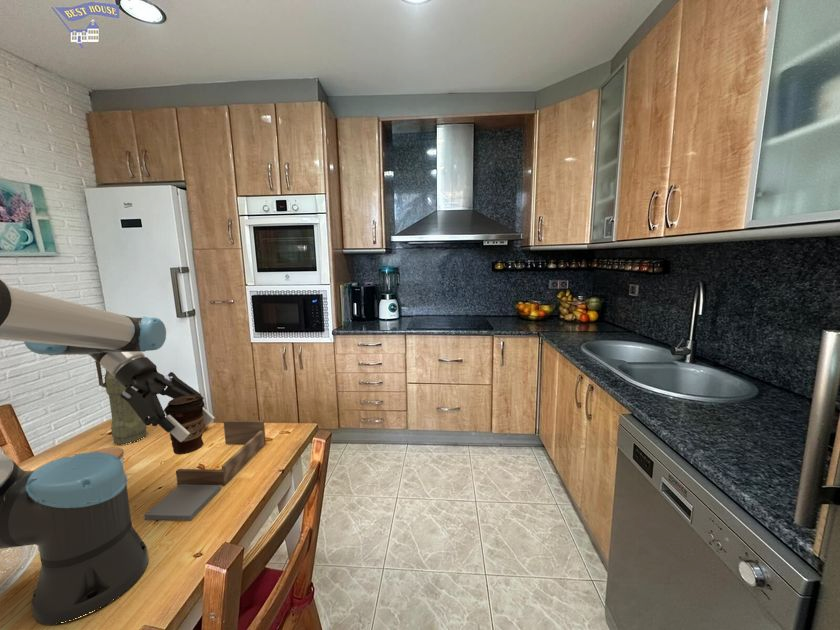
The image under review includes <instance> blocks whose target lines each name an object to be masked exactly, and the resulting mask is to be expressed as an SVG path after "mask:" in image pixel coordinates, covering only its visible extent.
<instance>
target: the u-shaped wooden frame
mask: <svg viewBox="0 0 840 630" xmlns="http://www.w3.org/2000/svg"><path fill="white" fill-rule="evenodd" d="M223 429H224V430H223V432H224V441H225V445H226V444H232V445H233V444H234V445H237V446H240V445H241V446H242V447H240V448H239V449H238V450H237V452H236V453H234V454H233V455H231V457H230V458H228V459H227V461H226V462H224V464H221V469H215V468H213V469H212V468H207V469H205V468H204V469H203V468H201V469H198V468H177V469H176V470H175V475H176V484H177V486H179V485H221V487H223V486H224V487H225V486H226V485H227V484H228V483H229V482H230V481H231V480H232V479H233V478H234V477H235V476H236V474H237V473H239V472H240V471H241V469H243V468H244V466H246V464H247V463H248V462H249V461H250V460H251V459H252V458H253V457H254V456H255V455H256V454H257V453H258V452H259V451H260V450H261V449H262V448H263V447H264V446H265V444H266V431H265V421H264V420H243V419H242V420H237V419H236V420H233V419H230V420H227V419H226V420H223ZM232 445H231V446H232Z"/></svg>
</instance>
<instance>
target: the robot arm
mask: <svg viewBox="0 0 840 630" xmlns="http://www.w3.org/2000/svg"><path fill="white" fill-rule="evenodd" d="M0 340H4V341H12V342H13V341H14V342H23V343H24V345H25V346H26V348H27V349H28V350H30V352H32V353H34V354H38V355H48V356H59V355H61V356H63V355H64V356H65V355H66V356H69V355H74V356H75V355H79V356H80V355H81V356H82V355H88V356H90V357H91V358H92V359H93V360H95V361H97V362H98V363H99V364H100V365H101V368H103V369H105V371H106V370H107V371H108V372H109V373H110V374H111V375H112V376H115V379H116V380H117V381H118V382H120V383H121V384H122V385H123V386H124V387H126V389H125V390H124V391H123V392H122V394H121V395H120V397H122V398H123V399H125V400H126V401H127V402H128V403H129V404H130V405H131V407H132V408H133V409H134V410H135V412H136V413H137V414H138V416H139V417H140V418H141V420H142V421H143V422H144V424H145V425H146V426H153V427H157V426H160V427H161V428H162V429H163V430H164V431H165V432H166V433H169V432H170V433H171V434H172V435H173V436H174V437H175V438H176V439H178V440H179V441H180V442H182V441H183V440H184V439H185V438H186V437H187V436H188V435H189V434H190V433H189V432H188V431H187V430H186V429H185V428H184V427H183V426H182V425H181V424H180V423H179V422H177V421H176V420H175V419H174V418H173V417H172V416H171V415H168V416H166V413H165V412H164V408H163V406H162V405H161V402H160V400H159V397H158V395H161V396H167V397H169V398H171V399H172V400H173V399H174V398H177V397H181V396H185V395H191V394H194V395H195V394H196V395H201V396H202V394H201V393H200V392H198V391H197V390H196V389H194V388H193V387H192V386H190V385H188V384H187V383H185V382H184V381H183V380H182V379H180V378H179V377H178V376H177V375H176V374H175V373H174V372H173V371H170V372H169V373H168V374H165V375H164V374H162V373H160V372H158V370H157V369H158V368H157V365H156V364H155V363H154V362H153V361H152V360H151V359H150V358H149V357H147V356H146V355H145V353H143V352H150V351H151V352H152V351H156V350H159V349H161V348H162V347H163V346H164V344H165V342H166V340H167V328H166V325H165V323H164V322H163V321H162V320H161V319H160V318H158V317H147V316H143V317H133V316H128V315H124V314H119V313H115V312H111V311H108V310H107V311H106V310H103V309H99V308H96V307H91V306H87V305H84V304H83V305H82V304H79V303H76V302H71V301H69V300H63V299H59V298H57V297H51V296H48V295H43V294H39V293H35V292H31V291H27V290H23V289H19V288H16V287H12V286H9V285H8V284H7V283H6V282H5V281H4V280H3V279H1V278H0ZM202 413H203V414H204V424H205V425H206V426H205V427H207V426H209V425H210V424H211V423H212V421H213V420H214V419H215V418H216V417H215V416H214V415H213V414H211V413H210V412H209V410H207V407H205V406H204V407H203V412H202ZM170 433H169V434H170ZM90 452H91V453H89V452H83V453H77V454H74V455H72V456H64V457H60V458H57V459H55V460H51V461H50V462H47V463H45V464H43V465H41V466H40V467H38V468H36V469H35V470H30V471H29V470H24V469H22V468H21V467H20V466H19V465H18V464H17V463H16V462H15V461H14V460H13V459H12V458H11V457H9V456H8V455H5V454H2V453H0V550H2V549H3V550H4V549H9V548H10V549H11V548H18V547H24V546H33V545H35V546H38V552H39V558H40V565H41V567H40V572H39V575H38V579H37V584H36V588H35V590H34V592H33V596H32V598H31V611H32V615H33V618H34V620H35V621H36V622H37V623H38V624H42V625H45V624H55V625H57V624H56V623H61V622H65V621H69V620H73V619H75V618H78V617H80V616H83V615H85V614H88V613H89V612H92V611H94V610H97V609H99V608H100V607H102V606H104V605H106V604H107V603H109V602H111V601H112V600H113V599H115V598H117V597H118V596H119V597H120V595H121V594H122V595H123V594H124V593H126V592H127V591H128V590H129V589H130V588H132V587H133V586H134V585H135V583H137V581H138V580H139V579H140V578H141V577H142V575H143V573H144V572H145V571H146V568H147V566H148V564H149V553H148V547H147V545H146V543H145V542H144V540H143V539H142V537H141V536H140V535H139V533H138V532H137V531H136V530H135V528H134V527H133V525H132V519H131V509H130V501H129V500H130V499H129V493H128V486H127V483H128V477H127V474H126V472H125V469H124V465H123V464H122V462H121V461H120V459H119V458H118V457H116V456H114V455H112V454H108V453H102V452H92V451H90ZM127 589H128V590H127ZM126 590H127V591H126ZM125 591H126V592H125ZM122 595H121V596H122ZM119 597H118V598H119ZM118 598H117V599H118ZM115 600H116V599H115ZM112 602H113V601H112ZM112 602H111V603H112ZM109 604H110V603H109ZM107 605H108V604H107ZM107 605H106V606H107ZM104 607H105V606H104ZM102 608H103V607H102ZM99 610H100V609H99ZM97 611H98V610H97ZM73 621H74V620H73Z"/></svg>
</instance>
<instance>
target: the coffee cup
mask: <svg viewBox="0 0 840 630" xmlns="http://www.w3.org/2000/svg"><path fill="white" fill-rule="evenodd" d="M204 399H205V398H204V397H203V396H202V394H201V395H196V394H195V395H194V394H191V395H185V396H181V397H177V398H174V399H173V398H172V399H171V400H169V401H168V403H167V405H166V407H165V408H163V411H164V413H165V415H166V416H168V415H171V416H172V417H173V418H174V419H175V420H176V421H177V422H179V423H180V424H181V425H182V426H183V427H184V428H185V429H186V430H187V431H188V432H189V433H190V434H189V435H188V436H187V437H186V438H185V439H184V440H183V441H182V442H180V441H179V440H178V439H176V438H175V437H174V436H173V435H172V434H171V433H170V432H169V437H170V441H171V447H172V451H173V453H174V454H175V455H177V456H182V455H187V454H191V453H193V452H196V451H198V450H199V449H202V447H204V445H205V443H204V440H203V438H202V437H203V434H204V433H205V429H204V428H205V427H203V426H204V414H203V413H202V412H203V407H205V402H204ZM166 416H165V417H166Z"/></svg>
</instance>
